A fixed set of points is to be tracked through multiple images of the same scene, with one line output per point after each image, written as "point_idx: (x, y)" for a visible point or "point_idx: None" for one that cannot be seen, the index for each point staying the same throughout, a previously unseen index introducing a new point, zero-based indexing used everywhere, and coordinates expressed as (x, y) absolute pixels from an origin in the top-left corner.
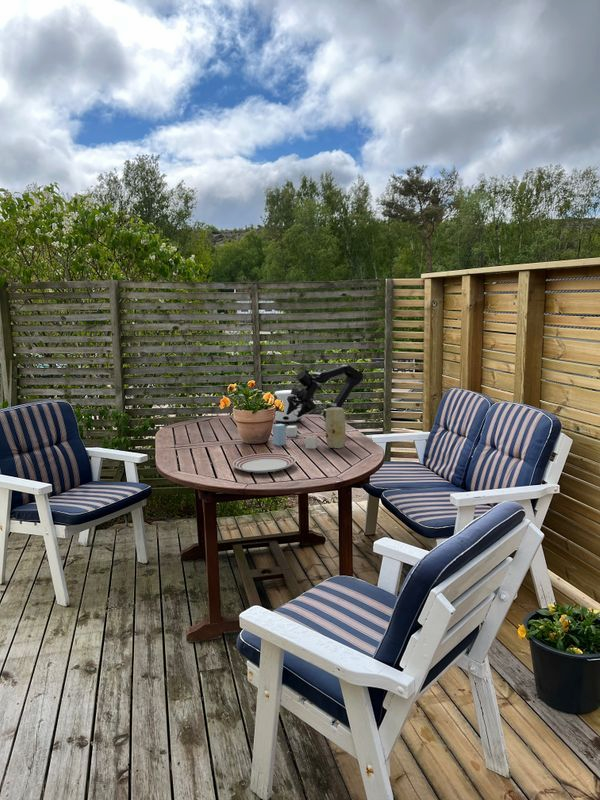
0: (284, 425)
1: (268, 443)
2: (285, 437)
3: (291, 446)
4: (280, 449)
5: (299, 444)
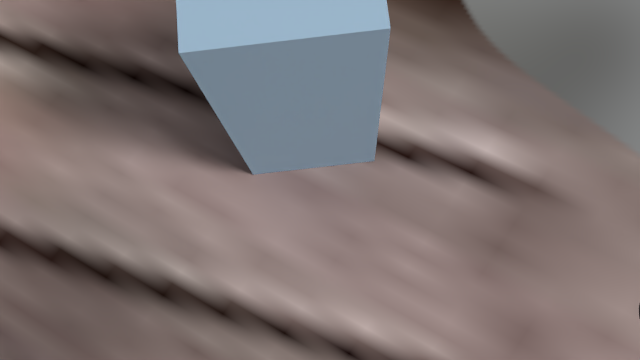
0: (179, 34)
1: (435, 16)
2: (235, 141)
3: (109, 182)
4: (72, 6)
5: (133, 329)
